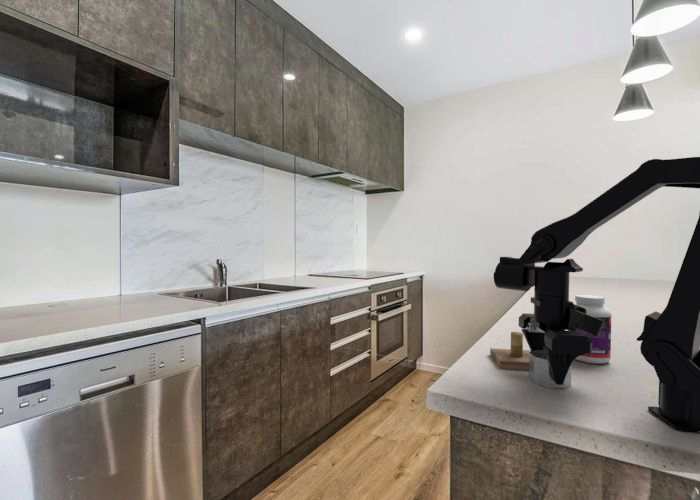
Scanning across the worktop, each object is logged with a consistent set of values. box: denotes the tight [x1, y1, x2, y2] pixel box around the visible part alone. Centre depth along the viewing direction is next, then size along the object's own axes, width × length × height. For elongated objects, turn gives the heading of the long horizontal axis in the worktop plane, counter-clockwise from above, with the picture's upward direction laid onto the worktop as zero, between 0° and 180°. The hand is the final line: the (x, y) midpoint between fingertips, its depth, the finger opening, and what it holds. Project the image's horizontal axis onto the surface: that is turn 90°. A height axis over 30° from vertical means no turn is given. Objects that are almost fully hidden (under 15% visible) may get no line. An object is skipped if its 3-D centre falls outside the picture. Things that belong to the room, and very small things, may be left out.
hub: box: [528, 350, 572, 390], centre depth 67 cm, size 6×6×5 cm
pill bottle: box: [567, 294, 612, 365], centre depth 80 cm, size 8×8×14 cm
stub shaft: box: [489, 331, 531, 371], centre depth 78 cm, size 9×9×6 cm
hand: (549, 375), depth 67 cm, fingers open, 8 cm apart
